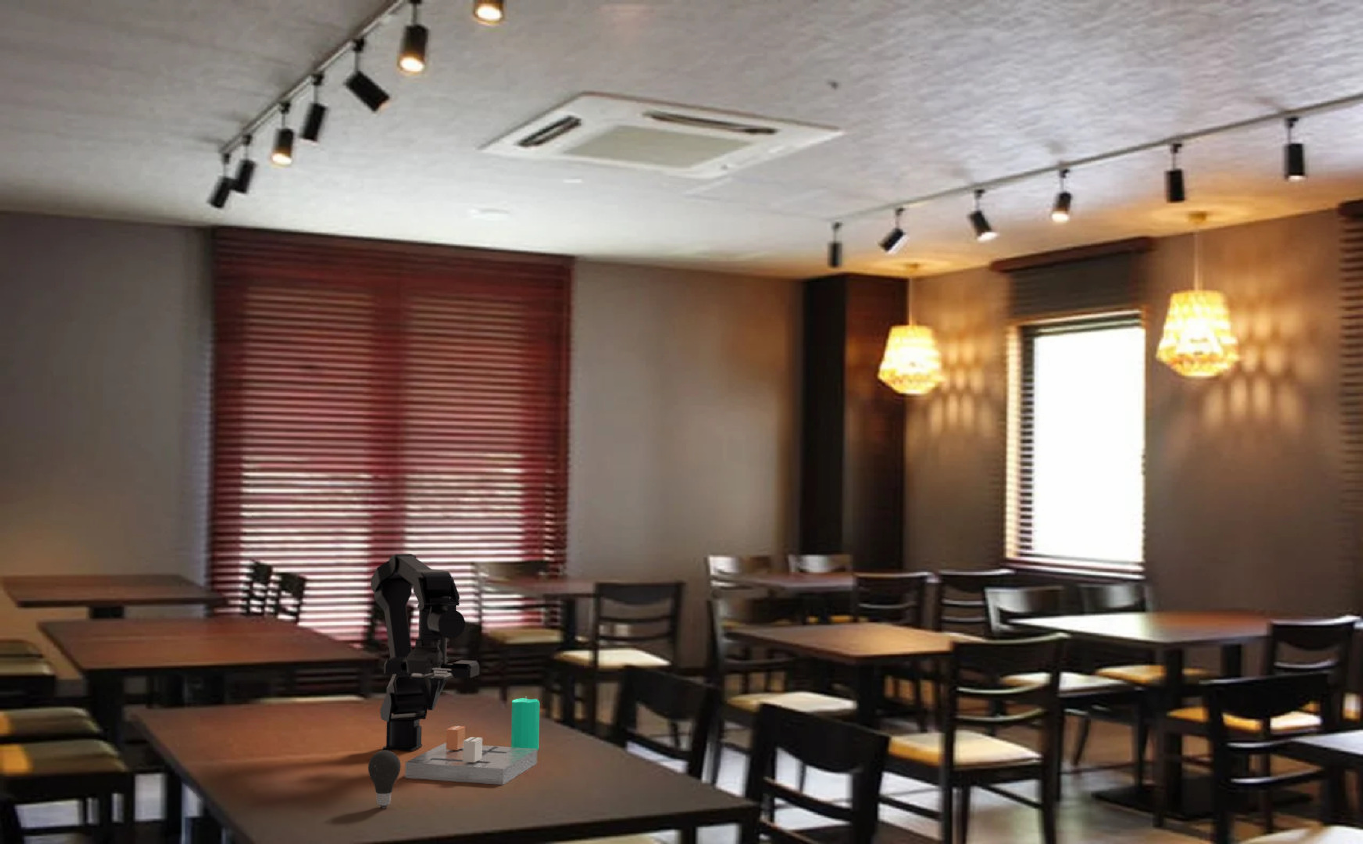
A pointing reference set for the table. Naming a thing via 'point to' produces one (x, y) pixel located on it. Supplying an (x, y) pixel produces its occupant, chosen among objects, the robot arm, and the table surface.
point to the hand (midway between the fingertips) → (430, 710)
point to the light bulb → (384, 775)
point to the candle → (525, 723)
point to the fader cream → (472, 749)
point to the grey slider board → (472, 765)
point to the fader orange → (455, 737)
